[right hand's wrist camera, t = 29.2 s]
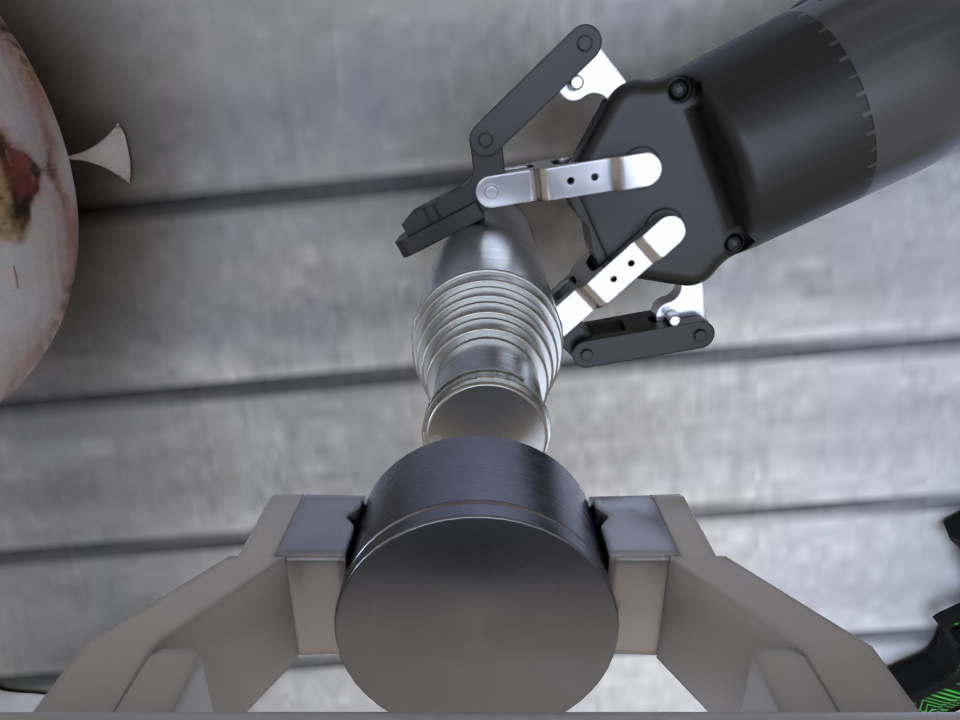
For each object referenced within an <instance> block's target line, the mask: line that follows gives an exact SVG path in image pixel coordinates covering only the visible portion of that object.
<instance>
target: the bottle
mask: <svg viewBox="0 0 960 720" xmlns="http://www.w3.org/2000/svg"><path fill="white" fill-rule="evenodd" d="M563 343H564V337H563V328H562V323H561V320H560V317H559V314H558V311H557V308H556V305H555V302H554V299H553V296H552V293H551V290H550V287H549V284H548V281H547V278H546V275H545V272H544V269H543V266H542V263H541V260H540V257H539V254H538V251H537V248H536V245H535V242H534V239H533V236H532V233H531V230H530V227H529V224H528V222H527V220H526V218H525V216H524V215H523V213H522V212H521V211H520V210H519V209H518V208H517V207H516V206H515V205H514V204H513V205H507V206H500V207H494V208H490V209H488V210H486V211H484V218H483V219H481V220H479V221H477V222H475V223H473V224H471V225H469V226H467V227H465V228H463V229H461V230H459V231H457V232H456V233H454V234H452V235H450V236H448V237H446V238H444V239H443V240H442V243H441V246H440V248H439V251H438V254H437V257H436V260H435V263H434V266H433V269H432V271H431V274H430V277H429V280H428V283H427V286H426V289H425V292H424V294H423V297H422V300H421V303H420V306H419V309H418V312H417V315H416V317H415V321H414V325H413V330H412V355H413V362H414V366H415V369H416V373H417V375H418V377H419V379H420V381H421V383H422V386H423V388H424V390H425V392H426V394H427V396H428V398H429V401H430V402H429V403H428V405H427V409H426V413H425V418H424V423H423V427H422V438H423V446H425V445H427V444H430V443H433V442H435V441H439V440H443V439H447V438H450V437H458V436H465V435H488V436H498V437H503V438H507V439H512V440H516V441H518V442H521V443H524V444H527V445H530V446H532V447H534V448H536V449H538V450H540V451H542V452H544V453H546V452H547V449H548V445H549V442H550V439H551V421H550V417H549V414H548V411H547V407H546V406H545V404H544V403H545V401H546V398H547V396H548V394H549V392H550V390H551V388H552V386H553V384H554V381H555V380H556V378H557V376H558V373H559V370H560V367H561V363H562V357H563Z"/></svg>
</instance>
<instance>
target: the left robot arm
mask: <svg viewBox="0 0 960 720" xmlns="http://www.w3.org/2000/svg"><path fill="white" fill-rule="evenodd" d="M601 44H602V39H601V35H600V33H599V31H598V30H597V29H596V28H595V27H594V26H592V25H588V24H583V25H580V26H578V27H576V28H575V29H574V30H573V31H571V32H570V33H569V34H568V35H567V36H566V37H565V38H564V39H563V40H562V41H561V42H560V43H559V44H558V45H557V46H556V47H555V48H554V49H553V50H552V51H551V52H550V53H549V54H548V55H547V56H546V57H545V58H544V59H543V60H542V61H541V62H540V63H539V64H538V65H537V66H536V67H535V68H534V69H533V70H531V71H530V72H529V73H528V74H527V75H526V76H525V77H524V78H523V79H522V80H521V81H520V82H519V83H518V84H517V85H516V86H515V87H514V88H513V89H512V90H511V91H510V92H509V93H508V94H507V95H506V96H505V97H504V98H503V99H502V100H501V101H500V102H499V103H498V104H497V105H496V106H495V107H494V108H493V109H492V110H491V111H490V112H489V113H488V114H487V115H486V116H485V117H484V118H483V119H482V120H481V121H480V122H479V123H478V124H477V125H476V126H475V127H474V128H473V130H472V132H471V134H470V146H471V153H472V162H473V173H472V176H471V177H470V178H469V180H468V181H467V182H465V183H464V184H462V185H460V186H458V187H456V188H454V189H452V190H450V191H448V192H446V193H445V194H443V195H441V196H439V197H437V198H435V199H433V200H431V201H429V202H427V203H426V204H423V205H422V206H420V207H418V208H416V209H414V210H413V211H412V213H411V214H410V215H409V216H408V217H407V219H406V220H405V221H404V223H403V224H402V226H403V228H404V230H405V231H406V232H405V233H403V234H402V235H400V236H399V238H398V239H397V241H396V242H395V243H396V245H397V246H398V248H399V250H400V252H401V254H402V255H403V257H404V258H405V257H408V256H410V255H412V254H414V253H416V252H418V251H420V250H422V249H424V248H426V247H428V246H430V245H432V244H434V243H436V242H438V241H440V240H442V239H444V238H446V237H448V236H450V235H452V234H454V233H456V232H457V231H459V230H461V229H463V228H465V227H467V226H469V225H471V224H473V223H475V222H477V221H479V220H481V219H483V218H484V211H486V210H488V209H490V208H494V207H500V206H507V205H513V204H519V203H526V202H532V201H551V200H557V199H564V198H566V199H567V201H568V203H569V205H570V207H571V208H572V209H573V210H574V212H575V213H576V214H577V215H578V217H579V218H580V219H581V221H582V226H583V233H584V239H585V241H586V244H587V246H588V248H589V250H590V251H589V252H588V253H587V254H586V255H585V256H584V257H583V258H582V259H581V260H579V261H578V262H577V263H576V264H575V265H574V267H573V268H572V270H571V272H570V273H569V274H568V275H567V276H566V277H565V278H564V279H563V280H562V281H561V282H560V283H559V284H558V285H557V286H555V287H554V288H553V289H552V290H551V293H552V296H553V299H554V302H555V305H556V308H557V311H558V314H559V317H560V320H561V323H562V328H563V337H564V343H563V348H564V349H565V350H566V351H567V352H568V353H569V354H570V355H571V356H572V357H573V360H574V362H575V363H576V364H577V365H578V366H580V367H584V368H588V367H594V366H600V365H605V364H611V363H617V362H623V361H629V360H635V359H640V358H646V357H652V356H658V355H664V354H670V353H675V352H681V351H687V350H693V349H699V348H703V347H706V346H707V345H709V344H710V343H711V342H712V340H713V338H714V334H715V332H714V328H713V327H712V325H711V324H710V323H709V322H708V321H707V319H706V317H705V304H704V288H703V282H704V281H705V280H707V279H708V278H709V277H710V276H711V275H712V274H713V273H714V272H715V271H716V269H717V268H718V267H719V266H720V265H721V264H722V263H723V262H724V261H725V260H727V259H728V258H729V257H731V256H733V255H735V254H737V253H740V252H743V251H745V250H748V249H751V248H753V247H756V246H758V245H760V244H762V243H764V242H766V241H769V240H771V239H773V238H775V237H777V236H780V235H782V234H784V233H786V232H788V231H790V230H793V229H795V228H797V227H799V226H801V225H803V224H806V223H808V222H810V221H812V220H814V219H816V218H819V217H821V216H823V215H825V214H827V213H829V212H831V211H834V210H836V209H838V208H840V207H842V206H844V205H847V204H849V203H851V202H853V201H856V200H858V199H860V198H862V197H864V196H866V195H869V194H871V193H873V192H875V191H877V190H879V189H882V188H884V187H886V186H888V185H890V184H892V183H895V182H897V181H899V180H901V179H903V178H905V177H908V176H910V175H912V174H914V173H916V172H918V171H920V170H922V169H924V168H926V167H928V166H930V165H932V164H933V163H935V162H937V161H939V160H940V159H942V158H944V157H945V156H947V155H949V154H950V153H952V152H954V151H955V150H957V149H958V148H960V0H802V1H800V2H799V3H797V4H796V5H794V6H793V7H792V8H791V9H790V10H789V11H787V12H786V13H783V14H781V15H779V16H778V17H776V18H774V19H772V20H770V21H768V22H766V23H764V24H762V25H760V26H759V27H757V28H755V29H753V30H751V31H749V32H747V33H745V34H743V35H742V36H740V37H738V38H736V39H734V40H732V41H730V42H728V43H726V44H724V45H722V46H721V47H719V48H717V49H715V50H713V51H711V52H709V53H707V54H705V55H703V56H701V57H700V58H698V59H696V60H694V61H692V62H690V63H688V64H686V65H684V66H682V67H680V68H679V69H677V70H675V71H673V72H671V73H669V74H667V75H665V76H663V77H661V78H658V79H655V80H632V81H626V80H625V79H624V78H623V76H622V75H621V74H620V73H619V71H618V70H617V69H616V67H615V66H614V65H613V63H612V62H611V61H610V59H609V58H608V57H607V56H606V54H605V53H604V52H603V50H602V49H601ZM590 93H594V94H597V95H599V96H600V97H601V98H602V99H603V101H602V102H601V104H600V106H599V108H598V110H597V112H596V113H595V115H594V117H593V119H592V121H591V123H590V124H589V126H588V128H587V130H586V132H585V134H584V135H583V137H582V139H581V141H580V143H579V145H578V147H577V148H576V150H575V152H574V154H573V155H571V156H565V157H559V158H552V159H546V160H540V161H535V162H531V163H528V164H522V165H516V166H510V167H504V159H503V149H502V146H503V145H505V144H506V143H507V142H508V141H509V140H510V139H511V138H512V137H513V136H514V135H515V134H516V133H517V132H518V131H519V130H520V129H521V128H522V127H523V126H524V125H525V124H526V123H527V122H528V121H529V120H531V119H532V118H533V117H534V116H535V115H536V114H537V113H538V112H539V111H540V110H541V109H542V108H543V107H544V106H545V105H546V104H547V103H548V102H549V101H550V100H551V99H552V98H553V97H554V96H555V95H557V94H559V95H560V96H561V97H562V98H563V99H565V100H568V101H576V100H579V99H581V98H583V97H584V96H586V95H588V94H590ZM612 276H614V278H613V279H611V277H612ZM636 278H639V279H645V280H651V281H657V282H664V283H670V284H675V286H674V288H673V290H672V291H671V292H670V293H669V294H667V295H665V296H663V297H660V298H658V299H657V300H656V301H655V302H654V303H653V305H652V307H651V310H649V311H643V312H638V313H632V314H626V315H621V316H615V317H610V318H604V319H598V320H593V321H587V322H582V320H583V319H584V318H586V317H587V316H588V315H589V314H590V313H591V312H592V311H594V310H595V309H597V308H601V307H603V306H605V305H606V304H607V303H609V302H610V301H611V300H612V299H613V298H614V297H616V296H617V295H618V294H619V293H620V292H621V291H622V290H623V289H625V288H626V287H627V286H628V285H629V284H630V283H631V282H633V281H634V280H635V279H636Z"/></svg>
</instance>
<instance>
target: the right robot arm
mask: <svg viewBox="0 0 960 720" xmlns="http://www.w3.org/2000/svg"><path fill="white" fill-rule="evenodd" d="M366 503H367V499H366V497H365V496H344V495H303V494H300V495H275V496H273V497H271V498H270V500H269V502H268V503H267V505H266V507H265V509H264V511H263V512H262V514H261V516H260V518H259V520H258V522H257V523H256V525H255V527H254V529H253V531H252V532H251V534H250V536H249V538H248V540H247V542H246V543H245V545H244V547H243V549H242V551H241V552H240V554H239V556H229V557H227V558H226V559H224V560H223V561H221V562H219V563H218V564H216V565H214V566H213V567H211V568H209V569H208V570H206V571H204V572H203V573H201V574H200V575H198V576H196V577H195V578H193V579H191V580H190V581H188V582H186V583H185V584H183V585H181V586H180V587H178V588H177V589H175V590H173V591H172V592H170V593H168V594H167V595H165V596H163V597H162V598H160V599H158V600H157V601H155V602H154V603H152V604H150V605H149V606H147V607H145V608H144V609H142V610H140V611H139V612H137V613H135V614H134V615H132V616H131V617H129V618H127V619H126V620H124V621H122V622H121V623H119V624H117V625H116V626H114V627H113V628H111V629H109V630H108V631H106V632H104V633H103V634H101V635H99V636H98V637H96V638H94V639H93V640H91V641H90V642H88V643H86V644H85V645H83V646H82V647H81V648H80V650H79V651H78V652H77V654H76V655H75V656H74V658H73V659H72V660H71V662H70V663H69V664H68V666H67V667H66V668H65V670H64V671H63V672H62V674H61V675H60V676H59V678H58V679H57V680H56V682H55V683H54V684H53V686H52V687H51V688H50V690H49V691H48V692H47V694H46V695H44V694H36V693H19V692H9V691H4V690H1V689H0V720H960V712H920V711H919V710H918V709H917V707H916V706H915V705H914V703H913V702H912V701H911V699H910V698H909V696H908V695H907V694H906V692H905V691H904V690H903V688H902V687H901V686H900V684H899V683H898V681H897V680H896V679H895V677H894V676H893V675H892V673H891V672H890V671H889V669H888V668H887V666H886V665H885V664H884V662H883V661H882V660H881V658H880V657H879V656H878V654H877V653H876V651H875V650H874V649H873V647H872V646H870V645H868V644H867V643H865V642H863V641H862V640H860V639H859V638H857V637H855V636H854V635H852V634H850V633H849V632H847V631H846V630H844V629H842V628H841V627H839V626H837V625H836V624H834V623H833V622H831V621H829V620H828V619H826V618H824V617H823V616H821V615H820V614H818V613H816V612H815V611H813V610H811V609H810V608H808V607H807V606H805V605H803V604H802V603H800V602H799V601H797V600H795V599H794V598H792V597H790V596H789V595H787V594H786V593H784V592H782V591H781V590H779V589H777V588H776V587H774V586H773V585H771V584H769V583H768V582H766V581H764V580H763V579H761V578H760V577H758V576H756V575H755V574H753V573H751V572H750V571H748V570H747V569H745V568H743V567H742V566H740V565H738V564H737V563H735V562H734V561H732V560H730V559H729V558H727V557H725V556H716V555H715V553H714V551H713V549H712V548H711V546H710V544H709V542H708V540H707V538H706V537H705V535H704V533H703V531H702V529H701V527H700V526H699V524H698V522H697V520H696V518H695V516H694V515H693V513H692V511H691V509H690V507H689V505H688V504H687V502H686V500H685V498H684V497H683V496H681V495H680V494H669V495H650V496H606V497H589V500H588V504H589V507H590V511H591V514H592V518H593V522H594V525H595V529H596V532H597V536H598V540H599V543H600V547H601V550H602V554H603V557H604V561H605V565H606V568H607V572H608V575H609V579H610V583H611V586H612V590H613V593H614V597H615V601H616V605H617V608H618V617H619V632H618V640H617V644H616V648H615V652H614V654H644V655H657V658H658V660H659V661H660V662H661V663H662V664H663V665H664V666H665V667H666V668H667V669H668V670H669V671H670V672H671V673H672V674H673V675H674V676H675V677H676V678H677V679H678V680H679V682H680V683H681V684H682V685H683V686H684V687H685V688H686V689H687V690H688V691H689V692H690V693H691V694H692V695H693V696H694V697H695V698H696V699H697V700H698V701H699V703H700V704H701V705H702V706H703V707H704V708H705V709H706V710H707V711H708V712H247V711H248V710H249V709H250V708H251V707H252V706H253V705H254V703H255V702H256V701H257V700H258V699H259V698H260V697H261V696H262V695H263V694H264V693H265V692H266V691H267V690H268V689H269V688H270V687H271V686H272V685H273V684H274V683H275V682H276V681H277V680H278V679H279V678H280V677H281V675H282V674H283V673H284V672H285V671H286V670H287V669H288V668H289V667H290V666H291V665H292V664H293V663H294V662H295V661H296V660H297V659H298V655H311V654H339V651H338V647H337V644H336V638H335V631H334V620H335V610H336V605H337V601H338V597H339V593H340V590H341V587H342V583H343V580H344V576H345V573H346V570H347V567H348V564H349V560H350V557H351V553H352V550H353V547H354V543H355V538H356V535H357V532H358V528H359V525H360V522H361V519H362V516H363V512H364V509H365V505H366Z"/></svg>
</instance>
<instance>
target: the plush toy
mask: <svg viewBox="0 0 960 720" xmlns="http://www.w3.org/2000/svg"><path fill="white" fill-rule="evenodd" d="M69 159H71V160H81V161H86V162H90V163H93V164H96V165H99V166H102V167H104V168H106V169H108V170H110V171H112V172H113V173H115V174H116V175H118V176H119V177H120V178H122V179H123V180H125V181H126V182H127V183H129V184H130V175H131V169H130V157H129V151H128V146H127V142H126V138H125V135H124V132H123V130H122V128H121V127H120V125H119V123H117V125H116V126H115V128H114V129H113V130H112V131H111V132H110V133H109V134H108V135H107V136H106V137H105V138H104V139H103V140H102V141H100V142H99V143H98V144H96V145H95V146H93V147H92V148H90V149H88V150H86V151H84V152H81V153H78V154H74V155H70V156H68V154H67V151H66V147H65V144H64V141H63V138H62V134H61V131H60V128H59V125H58V123H57V120H56V118H55V115H54V112H53V110H52V107H51V105H50V103H49V100H48V98H47V96H46V93H45V91H44V89H43V87H42V85H41V83H40V81H39V79H38V77H37V76H36V74H35V72H34V70H33V68H32V66H31V64H30V62H29V60H28V59H27V57H26V55H25V54H24V52H23V50H22V48H21V47H20V45H19V44H18V42H17V41H16V39H15V38H14V36H13V35H12V33H11V31H10V30H9V28H8V27H7V25H6V24H5V22H4V21H3V19H2V18H1V16H0V403H1V402H2V401H4V400H5V399H6V398H7V397H8V396H9V395H10V394H11V393H12V392H13V391H15V390H16V389H17V388H18V387H19V386H20V385H21V384H22V383H23V382H24V380H25V379H26V378H27V377H28V376H29V374H30V373H31V372H32V371H33V370H34V368H35V367H36V366H37V364H38V363H39V361H40V360H41V358H42V357H43V355H44V354H45V352H46V351H47V349H48V348H49V346H50V345H51V343H52V341H53V339H54V337H55V335H56V333H57V331H58V329H59V327H60V325H61V322H62V319H63V317H64V314H65V311H66V308H67V305H68V303H69V299H70V295H71V291H72V287H73V283H74V278H75V271H76V263H77V256H78V210H77V201H76V193H75V187H74V181H73V176H72V171H71V166H70V161H69Z"/></svg>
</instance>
